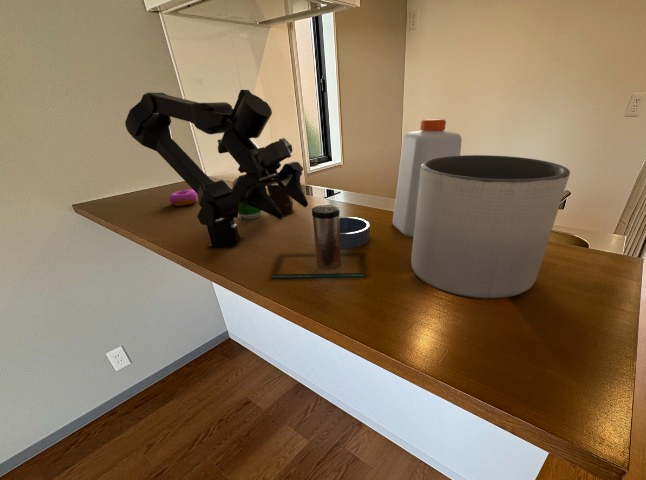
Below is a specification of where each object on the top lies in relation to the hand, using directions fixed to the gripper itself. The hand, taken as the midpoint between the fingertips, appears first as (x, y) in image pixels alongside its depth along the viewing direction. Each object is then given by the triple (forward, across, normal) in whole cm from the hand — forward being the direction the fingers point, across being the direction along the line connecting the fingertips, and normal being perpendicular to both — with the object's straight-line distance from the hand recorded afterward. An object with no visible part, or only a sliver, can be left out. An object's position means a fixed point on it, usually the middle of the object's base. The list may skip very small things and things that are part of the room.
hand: (294, 211), depth 70 cm
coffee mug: (-11, +30, +28) cm, 43 cm away
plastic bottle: (+23, +33, -6) cm, 40 cm away
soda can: (-16, +21, +33) cm, 42 cm away
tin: (+14, 0, +2) cm, 14 cm away
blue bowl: (+11, +15, +6) cm, 20 cm away
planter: (+35, +10, -18) cm, 41 cm away
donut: (-40, +22, +57) cm, 73 cm away
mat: (+13, -1, +4) cm, 13 cm away
